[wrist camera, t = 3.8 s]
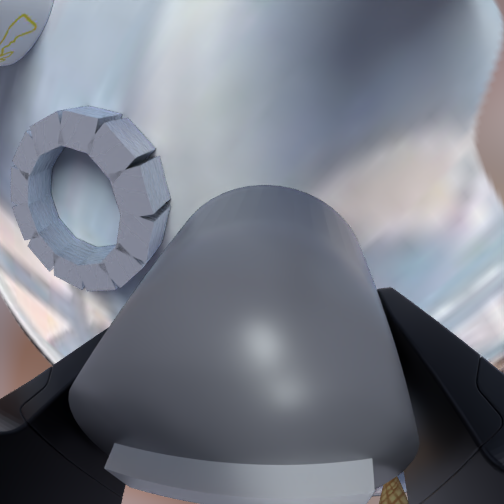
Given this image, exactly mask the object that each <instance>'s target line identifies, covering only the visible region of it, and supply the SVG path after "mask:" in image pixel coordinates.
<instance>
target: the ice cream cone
mask: <svg viewBox="0 0 504 504" xmlns="http://www.w3.org/2000/svg"><path fill="white" fill-rule="evenodd" d="M379 504H409V503H408V500H407V497H406V495H405V492H404V490H403V488H402V486H401V483H400V481H399V479H398V477H395V478H394V479H392V480H391V481H389V482H387V483H385V484H384V485H383V489H382V493H381V497H380V502H379Z"/></svg>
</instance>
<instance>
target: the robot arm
mask: <svg viewBox="0 0 504 504" xmlns="http://www.w3.org/2000/svg"><path fill="white" fill-rule="evenodd" d="M377 292H378V295H379V297H380V300H381V303H382V306H383V309H384V312H385V315H386V318H387V321H388V324H389V327H390V330H391V333H392V336H393V340H394V343H395V346H396V349H397V353H398V356H399V360H400V363H401V367H402V370H403V374H404V377H405V381H406V385H407V389H408V393H409V396H410V401H411V405H412V409H413V413H414V417H415V422H416V426H417V431H418V436H419V442H420V444H419V449H418V452H417V454H416V456H415V458H414V460H413V461H412V462H411V464H410V465H409V466H408V467H407V468H406V469H405V470H404V476H405V482H406V489H407V496H408V503H409V504H504V374H503V373H502V372H501V371H500V370H498V369H497V368H496V367H494V366H493V365H492V364H491V363H489V362H488V361H487V360H486V359H485V358H483V357H480V355H479V354H478V353H477V352H476V351H475V350H473V349H472V348H471V347H470V346H468V345H467V344H466V343H465V342H463V341H462V340H461V339H460V338H458V337H457V336H456V335H454V334H453V333H452V332H451V331H449V330H448V329H447V328H445V327H444V326H443V325H442V324H440V323H439V322H438V321H436V320H435V319H434V318H432V317H431V316H430V315H428V314H427V313H426V312H424V311H423V310H422V309H420V308H419V307H418V306H416V305H415V304H414V303H412V302H411V301H410V300H408V299H407V298H406V297H404V296H403V295H401V294H400V293H399V292H397V291H396V290H395V289H393V288H391V287H389V288H381V289H377ZM107 330H108V328H107V329H106V330H104V331H103V332H101V333H100V334H98V335H97V336H95V337H94V338H92V339H91V340H89V341H88V342H86V343H85V344H83V345H82V346H81V347H79V348H78V349H76V350H75V351H73V352H72V353H70V354H69V355H67V356H66V357H64V358H63V359H62V360H60V361H59V362H57V363H56V364H54V365H53V367H50V368H48V369H47V370H45V371H44V372H43V373H41V374H40V375H38V376H37V377H35V378H34V379H32V380H31V381H29V382H27V383H26V384H24V385H22V386H21V387H19V388H18V389H16V390H14V391H13V392H11V393H9V394H8V395H6V396H4V397H3V398H1V399H0V504H121V502H122V496H123V493H124V489H125V485H126V484H125V483H123V482H122V481H121V480H119V479H118V478H116V477H115V476H114V475H112V474H111V473H110V472H108V471H107V470H106V469H104V467H105V465H106V462H107V460H108V458H109V455H107V454H106V453H105V452H104V451H103V450H101V449H100V448H99V447H98V446H97V445H96V444H95V443H94V442H93V441H92V440H91V439H90V438H89V437H88V436H87V435H86V434H85V433H84V431H83V430H82V429H81V428H80V426H79V425H78V423H77V422H76V420H75V419H74V416H73V414H72V412H71V409H70V405H69V400H68V399H69V390H70V388H71V386H72V384H73V382H74V381H75V379H76V378H77V376H78V374H79V373H80V371H81V370H82V368H83V366H84V365H85V363H86V362H87V360H88V359H89V357H90V355H91V354H92V352H93V351H94V349H95V348H96V346H97V345H98V343H99V342H100V340H101V339H102V337H103V336H104V334H105V333H106V331H107Z"/></svg>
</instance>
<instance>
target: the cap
mask: <svg viewBox="0 0 504 504" xmlns="http://www.w3.org/2000/svg"><path fill="white" fill-rule="evenodd" d="M68 400H69V405H70V409H71V412H72V414H73V416H74V419H75V420H76V422H77V423H78V425H79V426H80V428H81V429H82V430H83V431H84V433H85V434H86V435H87V436H88V437H89V438H90V439H91V440H92V441H93V442H94V443H95V444H96V445H97V446H98V447H99V448H100V449H101V450H103V451H104V452H105V453H106V454H107V455H109V458H108V460H107V462H106V465H105V467H104V469H106V470H107V471H108V472H110V473H111V474H112V475H114V476H115V477H116V478H118V479H119V480H121V481H122V482H123V483H125V484H126V485H128V486H129V487H131V488H134V489H138V490H141V491H145V492H149V493H152V494H157V495H160V496H165V497H170V498H173V499H179V500H183V501H188V502H194V503H200V504H367V502H368V501H369V500H370V498H371V497H372V495H373V494H374V492H375V489H376V488H378V487H380V486H382V485H384V484H385V483H387V482H389V481H391V480H392V479H394V478H395V477H397V476H398V475H399V474H400V473H402V472H403V471H404V470H405V469H406V468H407V467H408V466H409V465H410V464H411V462H412V461H413V460H414V458H415V456H416V454H417V452H418V449H419V444H420V442H419V436H418V431H417V426H416V422H415V417H414V413H413V409H412V405H411V401H410V396H409V393H408V389H407V385H406V381H405V377H404V374H403V370H402V367H401V363H400V360H399V356H398V353H397V349H396V346H395V343H394V340H393V336H392V333H391V330H390V327H389V324H388V321H387V318H386V315H385V312H384V309H383V306H382V303H381V300H380V297H379V295H378V292H377V289H376V286H375V284H374V281H373V278H372V276H371V273H370V270H369V268H368V265H367V262H366V260H365V257H364V255H363V252H362V250H361V247H360V245H359V242H358V240H357V238H356V236H355V234H354V233H353V231H352V229H351V227H350V226H349V225H348V224H347V222H346V221H345V220H344V219H343V218H342V217H341V216H340V215H339V214H338V213H337V212H336V211H335V210H334V209H333V208H331V207H330V206H329V205H327V204H326V203H324V202H323V201H321V200H319V199H318V198H316V197H314V196H312V195H310V194H307V193H304V192H302V191H299V190H296V189H292V188H287V187H282V186H272V185H257V186H247V187H243V188H238V189H234V190H231V191H228V192H226V193H223V194H221V195H219V196H217V197H215V198H213V199H211V200H210V201H208V202H207V203H205V204H204V205H203V206H201V207H200V208H199V209H198V210H197V211H196V212H195V213H194V214H193V215H192V216H191V217H190V218H189V220H188V221H187V222H186V223H185V225H184V226H183V227H182V228H181V230H180V231H179V232H178V233H177V235H176V236H175V237H174V239H173V240H172V241H171V242H170V244H169V245H168V246H167V248H166V249H165V250H164V252H163V253H162V254H161V256H160V257H159V258H158V260H157V261H156V262H155V264H154V265H153V266H152V268H151V269H150V270H149V272H148V273H147V274H146V276H145V277H144V278H143V280H142V281H141V283H140V284H139V285H138V287H137V288H136V289H135V291H134V292H133V294H132V295H131V296H130V298H129V299H128V301H127V302H126V304H125V305H124V306H123V308H122V309H121V311H120V312H119V314H118V315H117V316H116V318H115V319H114V321H113V322H112V324H111V325H110V327H109V328H108V330H107V331H106V333H105V334H104V336H103V337H102V339H101V340H100V342H99V343H98V345H97V346H96V348H95V349H94V351H93V352H92V354H91V355H90V357H89V359H88V360H87V362H86V363H85V365H84V366H83V368H82V370H81V371H80V373H79V374H78V376H77V378H76V379H75V381H74V382H73V384H72V386H71V388H70V390H69V399H68Z"/></svg>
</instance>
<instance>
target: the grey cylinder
mask: <svg viewBox="0 0 504 504" xmlns="http://www.w3.org/2000/svg"><path fill="white" fill-rule="evenodd" d="M53 1H54V0H0V66H7V65H11V64H14V63H16V62H17V61H19V60H20V59H21V58H22V57H23V56H25V55H26V54H27V52H28V51H29V50H30V49H31V48H32V46H33V45H34V44H35V42H36V41H37V39H38V38H39V36H40V34H41V32H42V31H43V29H44V27H45V25H46V22H47V20H48V18H49V15H50V12H51V9H52V5H53Z"/></svg>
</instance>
